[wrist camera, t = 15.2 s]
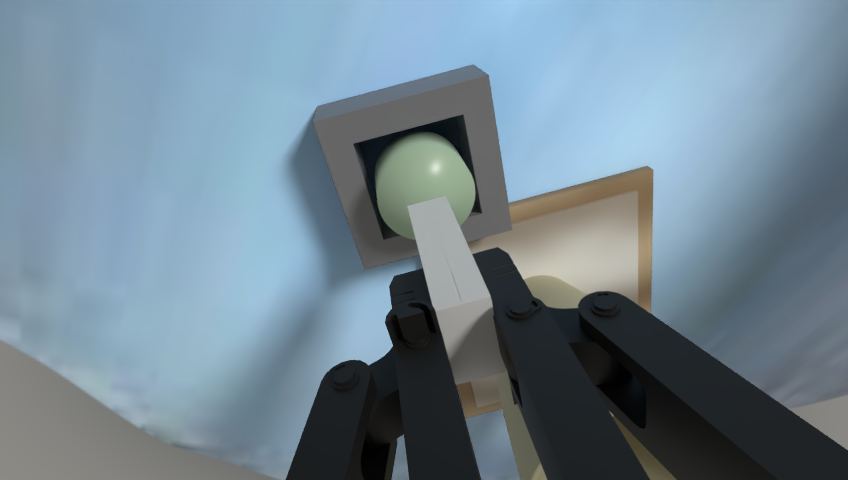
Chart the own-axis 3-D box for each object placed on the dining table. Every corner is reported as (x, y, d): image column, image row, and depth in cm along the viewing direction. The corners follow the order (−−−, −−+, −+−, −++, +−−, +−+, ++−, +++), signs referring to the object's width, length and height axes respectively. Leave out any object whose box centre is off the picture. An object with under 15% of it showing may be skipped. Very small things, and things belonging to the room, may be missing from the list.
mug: (472, 380, 33) (528, 568, 22) (461, 259, 28) (525, 426, 17) (624, 352, 33) (749, 522, 23) (639, 228, 28) (806, 372, 18)
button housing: (317, 106, 23) (312, 122, 21) (473, 64, 23) (488, 74, 21) (363, 242, 27) (364, 269, 25) (497, 206, 27) (512, 230, 25)
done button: (363, 144, 22) (364, 164, 20) (453, 120, 22) (465, 137, 20) (387, 224, 24) (391, 251, 22) (469, 202, 24) (482, 226, 22)
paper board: (413, 228, 27) (415, 235, 27) (647, 166, 27) (655, 170, 27) (464, 411, 35) (466, 420, 34) (645, 363, 35) (651, 370, 34)
